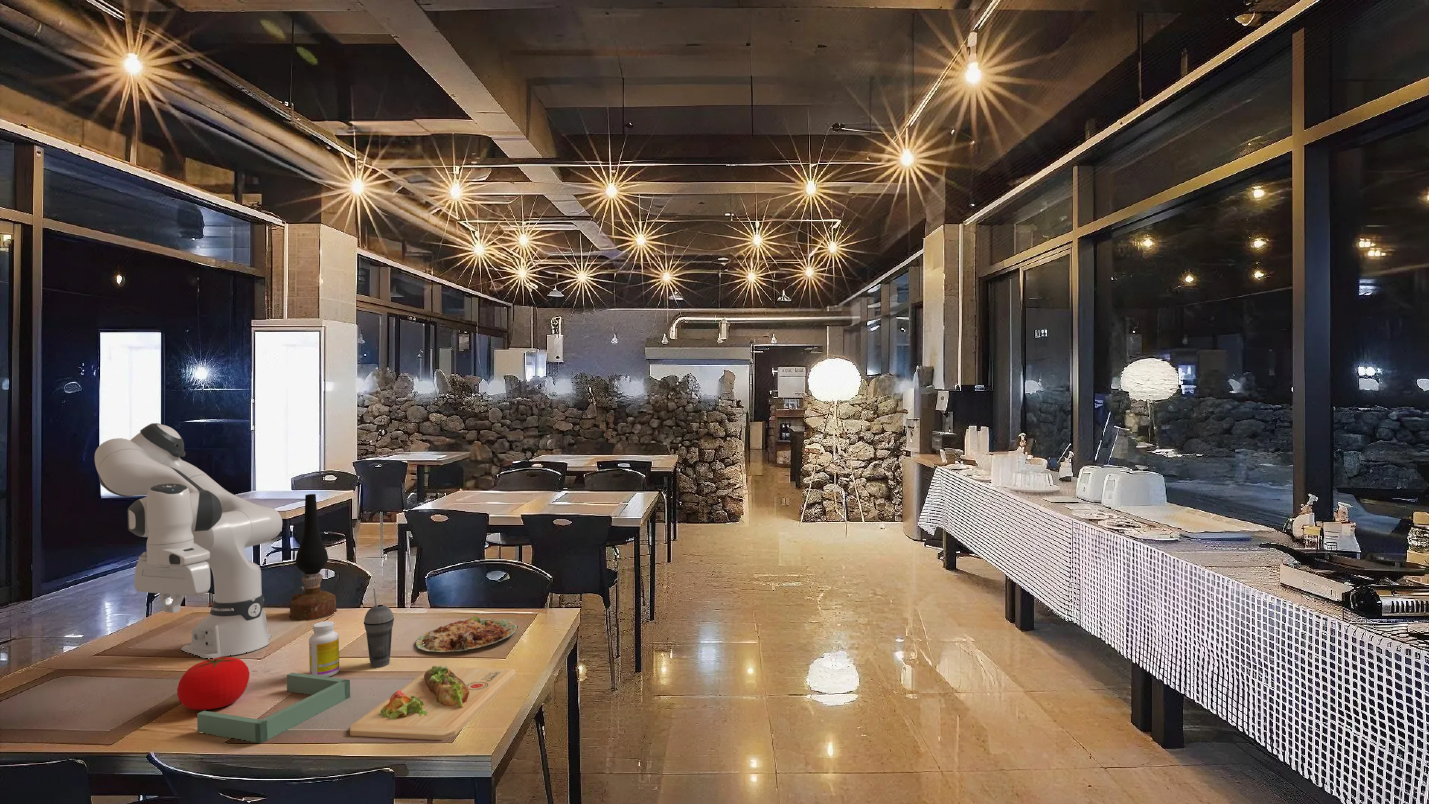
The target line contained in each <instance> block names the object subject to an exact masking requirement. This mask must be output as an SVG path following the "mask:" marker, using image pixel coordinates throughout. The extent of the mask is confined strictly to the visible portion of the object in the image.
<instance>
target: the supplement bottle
mask: <svg viewBox="0 0 1429 804" xmlns="http://www.w3.org/2000/svg"><path fill="white" fill-rule="evenodd" d="M334 627H335V622H334V621H332V620H331V621H330V620H325V621H319V622H317V623H315V624H313V625H312V631H313V634H312V635H310V637H309V639H308V648H309V649H308V650H309V651H308V653H309V675H315V676H323V677H331V676H334V675H337V674H338V672H340V643H339V641H340V640H339V638H340V637H339V633H338V632H337V631H334Z"/></svg>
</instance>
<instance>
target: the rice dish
mask: <svg viewBox="0 0 1429 804" xmlns="http://www.w3.org/2000/svg"><path fill="white" fill-rule="evenodd" d="M517 630H518V626H517V624H516V623H515V622H513V621H510V620H507V619H506V620H504V619H494V618H493V619H492V618H491V619H480V618H479V617H478V616H472V617H470V618H467V619H466V620H461V619H459V620H457V621H455V622H450V623H449V624H446V625H444V626H439V627H438V628H437V627H436V628H434V629H432V630H430V631H428V632H426V633H423V634H422V635H421V636H419V637H418V638H417V640H416V641H415V643H414V645H415V647H416V648H417V650H421V651H425V652H435V653H436V652H438V653H439V652H440V653H459V652H465V651H467V650H472V649H473V650H474V649H479V648H483V647H487V646H491V645H493V644H496V643H498V642H500V641H504V640H505V639H507V638H510V637H511V636H512V635H513V634H515V633H516V632H517ZM423 642H424V643H423ZM423 644H425V645H424V646H425V647H426V648H425V647H424V646H423ZM449 650H450V651H449Z"/></svg>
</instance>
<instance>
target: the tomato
mask: <svg viewBox="0 0 1429 804" xmlns="http://www.w3.org/2000/svg"><path fill="white" fill-rule="evenodd" d="M250 674H251V673H250V670H249V666H248V665H247V664H246V663H245V662H244V661H243V660H242V659H241V658H237V657H230V656H222V657H218V658H213V659H205V660H203V661H201V662H198V663H196V664H194V665H192V666H191V667H190V668H188V669H187V670H186V671H185V673H184V674H183V675H182V676H181V678H180V680H179V682H178V684H177V689H176V691H177V692H176V693H177V698H178V701H179V703H180V704H182V705H183V706H184V707H186V708H187V709H189V710H193V711H194V710H196V711H207V710H215V709H219V708H220V709H221V708H225V707H226V706H230V705H231V704H234V702H236V701H238V700H239V699H240V698H241V696H242V695H243V694H244V693H245V691H246V688H247V686H248V683H249V680H250Z"/></svg>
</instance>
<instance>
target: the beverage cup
mask: <svg viewBox="0 0 1429 804" xmlns="http://www.w3.org/2000/svg"><path fill="white" fill-rule="evenodd" d="M372 590H373V597H374V604H375V605H374V606H372V607H370V609H368V610H367V612H366V613H365V616H364V620H363V625H364V630H365V633H366V640H367V651H368V656H369V658H368V660H369V662H370V668H372V669H373V668H375V669H377V668H383V667H386V666H388V665H390V661H391V659H390V658H391V650H392V635H393V634H392V633H393V626H394V620H395V618H394V614H393V613H394V612H393V611H392V610H391V608H390V607H389V606H388V605H384V604H378V599H377V589H376V588H373V589H372Z"/></svg>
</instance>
